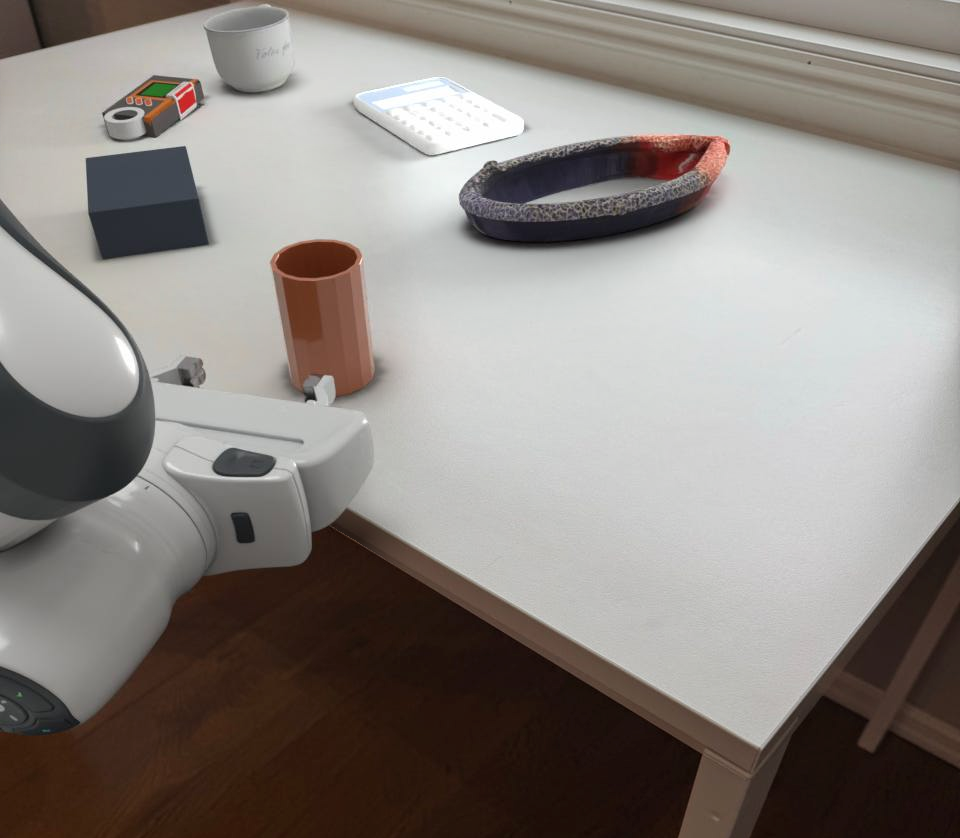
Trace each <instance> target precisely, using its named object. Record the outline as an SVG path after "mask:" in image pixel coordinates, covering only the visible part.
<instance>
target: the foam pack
mask: <svg viewBox="0 0 960 838" xmlns="http://www.w3.org/2000/svg"><path fill="white" fill-rule="evenodd" d="M85 171H86V172H85V175H86V193H87V194H86V195H87V213H88V214H87V215H88V217H89V220H90V223H91V228H92V230H93V233H94V236H95V239H96V243H97V246H98V251H99V253H100V256H101V259H102V260H109V259H116V258H122V257H123V258H124V257H132V256H136V255H137V256H138V255H144V254H153V253H157V252H159V253H160V252H166V251H172V250H180V249H189V248H194V247H201V246H208V245H210V242H209V238H208V234H207V229H206V224H205V220H204V215H203V211H202V207H201V202H200V198H199V194H198V193H199V192H198V189H197V186H196V185H197V184H196V181H195V177H194V174H193V169H192V165H191V162H190V158H189V152H188V149H187V146H186V145H181V146H173V147H172V146H171V147H166V148H165V147H164V148H157V149H148V150H140V151H134V152H133V151H132V152H131V151H130V152H125V153H124V152H122V153H115V154H108V155H99V156H91V157H85Z"/></svg>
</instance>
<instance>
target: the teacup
mask: <svg viewBox="0 0 960 838" xmlns="http://www.w3.org/2000/svg"><path fill="white" fill-rule="evenodd" d="M202 26H203V29H204V30H205V33H206V37H207V41H208V46H209V50H210V53H211V56H212V60H213V64H214V67H215V70H216V72H217V74H218V75H219V77H220V78H221V79H222V80H223V82H225V83H227V84H228V85H230V86H231V87H232V88H233V89H235V90H236V91H238V92H241V93H261V92H262V93H263V92H267V91H271V90H274V89H277V88H279V87H281V86H282V85H284V84H285V82H286V81H287V78H288V77H289V76H290V75H291V73H292V72H293V71H294V67H295V63H296V57H295V54H296V53H295V46H294V39H293V35H292V30H291V23H290V12H289V11H288V10H286V9H285V8H281V7H278V6H271V5H270V4H269V3H261V4H259V5H258V6H257V5H256V6H249V7H240V8H234V9H233V8H232V9H230V10H228V11H227V10H225V11H222V12H220V13H218V14H213V15H212V16H209V18H207V19H205V20H204V22H203V25H202Z"/></svg>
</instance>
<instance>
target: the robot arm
mask: <svg viewBox="0 0 960 838" xmlns="http://www.w3.org/2000/svg"><path fill="white" fill-rule="evenodd" d="M203 367H204V361H203V359H202V358H199V357H196V356H195V357H193V356H188V355H179V356H178V357H177V358H175V360H174V361H173V362H172V363H171V364H170V365H169V366H165V367H161V368H158V369H155V370H153V371H150V372H149V369H148V367H147V364H146V361H145V359H144V357H143V353H142V351H141V350H140V348H139V345H138V343H137V342H136V340H135V338H134V337H133V335H132V334H131V332H130V331H129V329H128V328H127V327H126V325H125V324H124V323H123V322H122V321H121V319H120V318H119V317H118V316H117V314H116V313H114V312H113V311H112V309H110V307H108V305H107V304H106V303H105V302H104V301H103V300H102V299H101V298H99V296H98V295H96V294H95V293H94V292H93V291H92V290H91V289H90V288H88V287H87V286H86V285H85V284H84V283H83V282H82V281H81V280H80V279H79V278H78V277H76V276H75V275H74V274H73V273H72V272H70V270H68V268H66V267H65V266H64V265H63V264H62V263H60V262H59V261H58V260H57V259H56V258H55V257H54V256H53V255H52V254H51V253H49V252H48V251H47V249H46V248H45V247H44V246H43V245H42V244H41V243H40V242H39V241H38V240H37V239H36V238H35V237H34V236H33V235H32V234H31V233H30V232H29V230H28V229H27V228H26V227H25V226H24V225H23V223H22V222H21V221H20V220H19V219H18V217H16V215H14V213H13V212H12V210H10V209H9V207H8V206H7V205H6V204H5V202H4V201H3V200H2V198H0V733H1V732H2V733H3V732H6V733H8V734H9V733H10V734H14V735H21V736H25V737H38V736H48V735H53V734H58V733H63V732H66V731H69V730H72V729H75V728H77V727H79V726H81V725H83V724H85V723H86V722H88V721H89V720H91V719H92V718H93V717H94V716H95V715H96V714H97V713H99V711H101V710H102V709H103V708H104V707H105V706H106V705H107V704H108V703H109V702H110V701H111V700H112V699H113V697H114V696H115V695H116V694H117V693H118V692H119V691H120V689H121V688H122V687H123V686H125V684H126V683H127V681H128V680H129V679H130V678H131V677H132V675H133V674H134V673H135V671H137V669H138V668H139V667H140V665H141V664H142V662H143V661H144V660H145V658H146V657H147V656H148V655H149V653H150V652H151V651H152V649H153V648H154V647H155V645H156V643H158V641H159V640H160V638H161V636H162V635H163V633H164V632H165V631H166V629H167V627H168V625H169V622H170V620H171V619H170V618H171V615H172V611H173V607H174V605H175V604H176V602H177V600H178V599H180V598H181V597H182V596H183V595H185V594H187V593H188V592H189V591H191V590H192V589H193V588H194V587H195V586H196V585H197V584H198V583H199V582H200V580H201V578H202V577H210V576H211V577H212V576H215V575H220V574H225V573H231V572H237V571H246V570H255V569H269V568H270V569H271V568H288V567H295V566H299V565H301V564H303V563H304V562H305V561H306V560H307V559H308V557H309V556H310V555H311V552H312V549H313V539H312V533H315V532H318V531H321V530H323V529H325V528H327V527H328V526H330V525H332V524H333V523H334V522H336V520H338V518H339V517H341V515H342V514H343V513H344V512H345V511H346V510H347V508H348V507H349V506H350V504H351V503H352V502H353V500H354V498H355V497H356V496H357V495H358V493H359V491H360V490H361V488H362V487H363V485H364V484H365V482H366V481H367V479H368V477H369V476H370V474H371V472H372V469H373V467H374V462H375V451H374V450H375V449H374V439H373V431H372V428H371V424H370V422H369V421H368V419H367V417H366V415H365V414H364V413H363V412H362V411H360V410H358V409H351V408H343V407H336V406H332V404H333V403H334V402H335V399H336V397H335V394H336V391H335V384H334V378H333V376H329V375H319V374H310V375H309V378H308V379H306V380H305V382H304V383H303V384H302V387H303V392H302V394H303V395H304V396H305V398H304V402H301V401H295V400H289V399H288V400H287V399H280V398H274V397H266V396H259V395H253V394H245V393H237V392H231V391H223V390H216V389H209V388H202V387H200V386H201V385H204V383H205V382H206V379H207V372H206V370H205V369H204V368H203Z"/></svg>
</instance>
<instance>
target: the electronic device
mask: <svg viewBox="0 0 960 838" xmlns="http://www.w3.org/2000/svg"><path fill="white" fill-rule="evenodd" d="M203 91H204V90H203V87H202V82H201V80H200V79H197V78H189V77H188V78H187V77H177V76H168V75H167V76H165V75H155V74H153V75H152V76H150V77H149V78H148V79H146V80H145V81H143V82H142V83H141V84H140V85H138V86H137V87H136V88H134V89H132V90H131V91H130V92H129V93H127V94H126V95H124V96H123V97H121V98H120V99H119V100H118V101H116V102H114V103H113V104H112V105H110V106H109V107H107V108H106V109H105V110H103V111H102V112H101V114H102V118H103V121H104V125H105V128H106V131H107V133H108V135H109V136H110V138H113V139H116V140H129V139H136V138H139V137H141V136H142V137H151V138H157V137H158V136H159V135H161V134H162V133H163V132H164V131H166V130H167V129H168V128H169V127H171V126H172V125H173V124H174V123H176V122H177V121H178V120H179V121H182V120H183V119H184V118H185V117H187V116H188V115H189V114H191V112H192V111H194V110H195V109H196V108H197V107H198V104H199V103H200V102H201V101H204V99H205V95H204V92H203Z"/></svg>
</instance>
